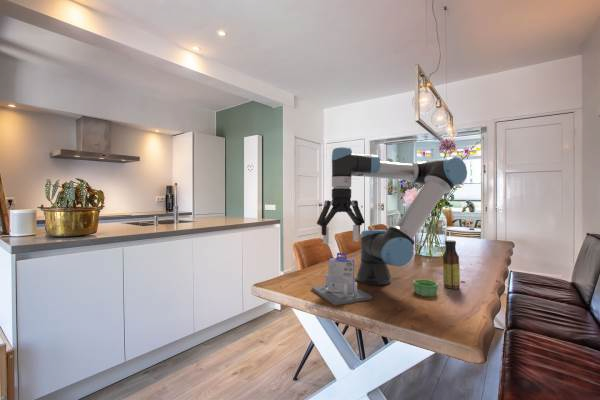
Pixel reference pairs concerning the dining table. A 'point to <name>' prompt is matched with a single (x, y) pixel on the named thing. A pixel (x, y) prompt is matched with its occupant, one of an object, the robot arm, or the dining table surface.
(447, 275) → the sauce bottle
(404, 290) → the dining table surface
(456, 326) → the dining table surface
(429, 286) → the ramekin
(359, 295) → the pin tray
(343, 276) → the ink cartridge box
